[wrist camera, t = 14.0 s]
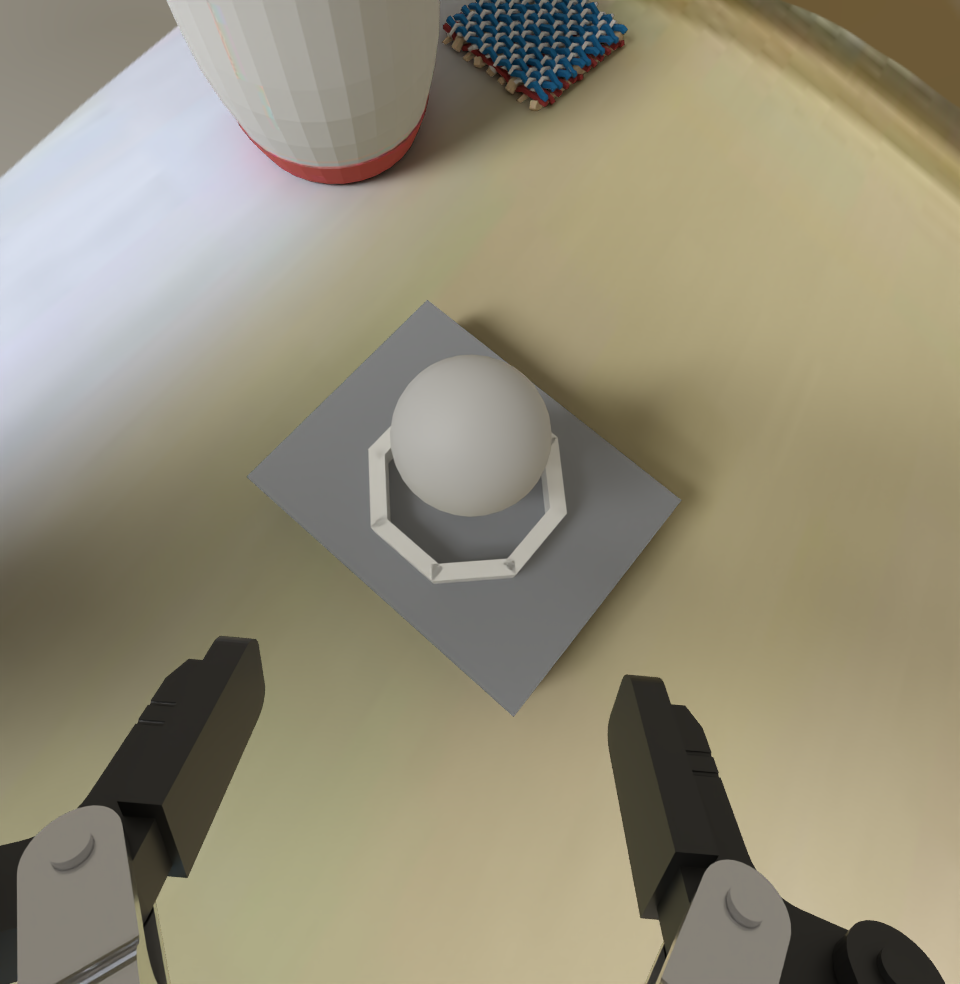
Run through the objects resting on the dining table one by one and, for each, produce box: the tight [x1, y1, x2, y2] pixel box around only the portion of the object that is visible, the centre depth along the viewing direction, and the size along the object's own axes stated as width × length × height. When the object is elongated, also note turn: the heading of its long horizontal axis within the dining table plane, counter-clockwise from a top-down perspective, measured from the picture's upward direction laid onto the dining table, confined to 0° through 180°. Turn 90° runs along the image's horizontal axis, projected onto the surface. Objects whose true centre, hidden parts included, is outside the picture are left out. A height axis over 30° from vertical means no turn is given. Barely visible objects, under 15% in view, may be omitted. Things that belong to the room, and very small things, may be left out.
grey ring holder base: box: [247, 300, 681, 717], centre depth 30 cm, size 18×14×6 cm
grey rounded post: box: [390, 355, 552, 517], centre depth 23 cm, size 6×6×11 cm
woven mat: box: [442, 0, 628, 111], centre depth 41 cm, size 10×11×2 cm
